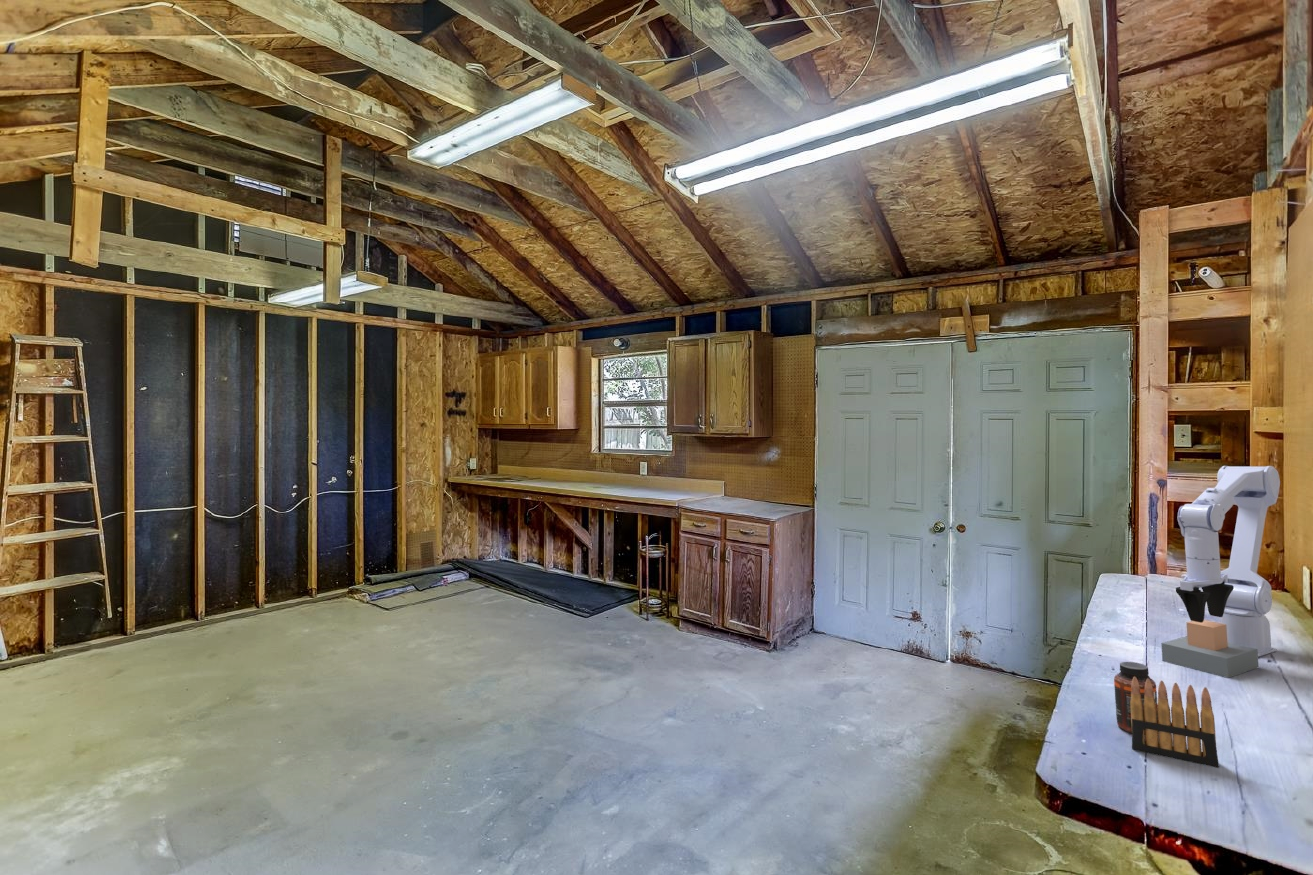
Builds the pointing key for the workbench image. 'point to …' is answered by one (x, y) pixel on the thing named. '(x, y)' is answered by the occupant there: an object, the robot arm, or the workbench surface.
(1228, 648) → the slate plinth
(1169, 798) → the workbench surface
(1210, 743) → the ammunition clip
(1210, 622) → the terracotta cube
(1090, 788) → the workbench surface
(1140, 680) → the supplement bottle
